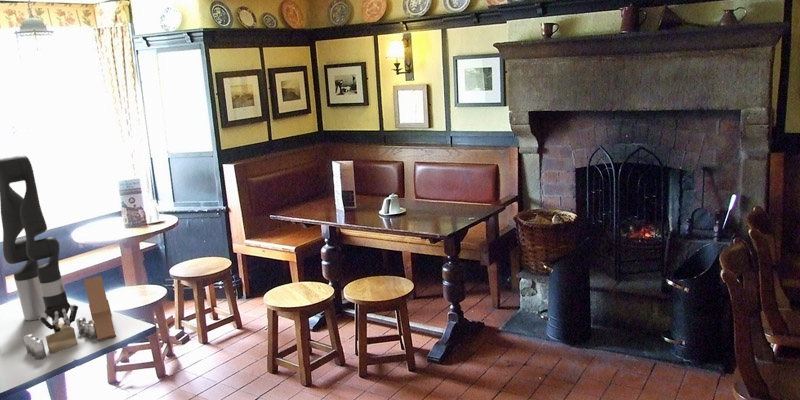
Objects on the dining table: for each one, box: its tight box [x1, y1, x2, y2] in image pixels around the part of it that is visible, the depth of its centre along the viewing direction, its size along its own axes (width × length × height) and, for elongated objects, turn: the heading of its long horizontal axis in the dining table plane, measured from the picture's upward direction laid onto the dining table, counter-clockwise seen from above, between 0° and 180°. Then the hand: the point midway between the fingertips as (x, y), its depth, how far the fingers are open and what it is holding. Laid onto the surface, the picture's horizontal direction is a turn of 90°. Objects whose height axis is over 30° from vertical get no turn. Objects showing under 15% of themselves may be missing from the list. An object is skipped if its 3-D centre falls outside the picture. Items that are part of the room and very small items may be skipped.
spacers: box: [23, 316, 98, 361], centre depth 236 cm, size 14×22×6 cm, turn 137°
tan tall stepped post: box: [83, 275, 117, 342], centre depth 247 cm, size 7×23×25 cm
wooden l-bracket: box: [45, 320, 78, 354], centre depth 237 cm, size 14×9×6 cm, turn 47°
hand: (64, 335), depth 240 cm, fingers closed on wooden l-bracket, 2 cm apart
